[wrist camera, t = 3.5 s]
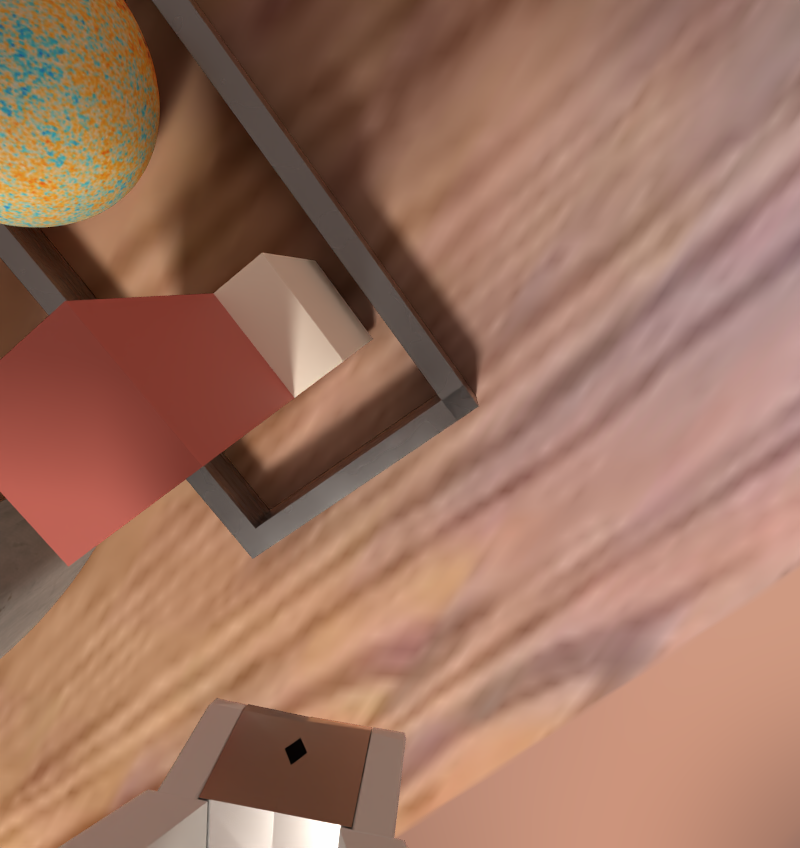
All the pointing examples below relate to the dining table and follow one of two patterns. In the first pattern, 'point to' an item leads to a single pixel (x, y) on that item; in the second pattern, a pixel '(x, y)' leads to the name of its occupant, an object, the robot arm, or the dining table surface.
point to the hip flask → (27, 576)
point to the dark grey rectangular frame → (454, 397)
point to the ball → (72, 109)
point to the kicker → (156, 391)
